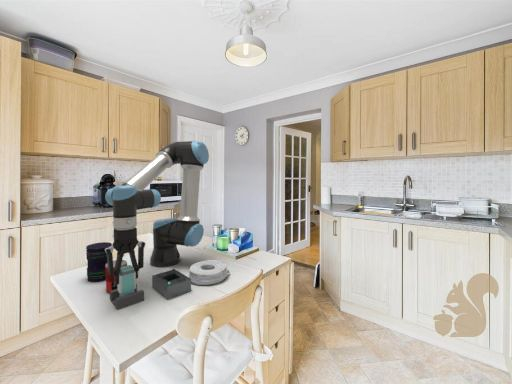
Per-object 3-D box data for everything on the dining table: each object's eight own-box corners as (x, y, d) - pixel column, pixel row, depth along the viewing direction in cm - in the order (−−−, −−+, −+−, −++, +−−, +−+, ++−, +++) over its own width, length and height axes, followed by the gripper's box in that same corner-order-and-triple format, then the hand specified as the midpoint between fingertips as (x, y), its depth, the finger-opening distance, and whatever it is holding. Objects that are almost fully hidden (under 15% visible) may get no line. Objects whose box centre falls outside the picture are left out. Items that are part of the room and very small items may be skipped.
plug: (119, 298, 91) (118, 267, 90) (130, 295, 93) (130, 264, 92) (123, 302, 88) (122, 270, 87) (134, 299, 91) (134, 267, 90)
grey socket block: (152, 287, 101) (152, 273, 101) (174, 279, 108) (174, 267, 108) (167, 299, 91) (167, 284, 91) (191, 290, 99) (191, 276, 98)
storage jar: (83, 283, 103) (81, 249, 102) (92, 274, 113) (90, 242, 112) (109, 281, 106) (108, 247, 105) (115, 272, 115) (115, 241, 114)
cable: (232, 272, 118) (232, 260, 117) (219, 289, 101) (219, 275, 100) (199, 269, 122) (199, 257, 121) (181, 284, 105) (181, 270, 104)
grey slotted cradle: (110, 300, 91) (109, 291, 90) (135, 291, 97) (135, 283, 97) (117, 309, 84) (117, 300, 84) (144, 300, 91) (144, 291, 90)
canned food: (112, 295, 94) (111, 268, 93) (102, 290, 98) (101, 263, 97) (131, 288, 100) (131, 262, 99) (121, 283, 104) (120, 258, 103)
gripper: (101, 233, 80) (103, 301, 82) (153, 226, 92) (154, 285, 94) (95, 229, 85) (97, 293, 87) (145, 223, 97) (146, 279, 99)
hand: (126, 289), depth 90 cm, fingers closed on plug, 4 cm apart
